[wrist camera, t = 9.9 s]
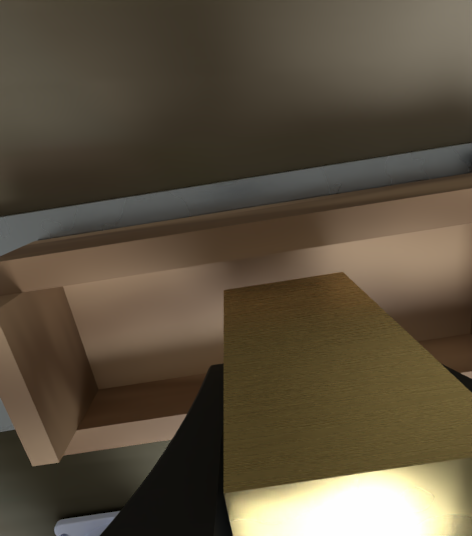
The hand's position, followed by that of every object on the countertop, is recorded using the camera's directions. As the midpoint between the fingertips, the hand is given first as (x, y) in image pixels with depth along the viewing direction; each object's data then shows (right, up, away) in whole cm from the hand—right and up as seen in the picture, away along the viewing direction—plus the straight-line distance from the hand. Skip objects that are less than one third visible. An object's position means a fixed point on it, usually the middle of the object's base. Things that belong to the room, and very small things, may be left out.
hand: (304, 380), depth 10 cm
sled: (0, +2, +6) cm, 6 cm away
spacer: (0, +1, +2) cm, 2 cm away
